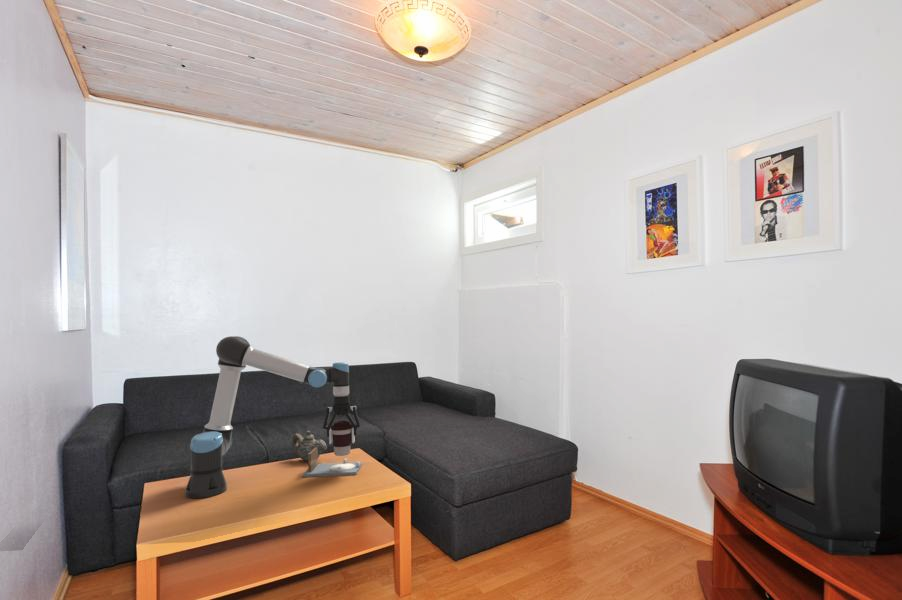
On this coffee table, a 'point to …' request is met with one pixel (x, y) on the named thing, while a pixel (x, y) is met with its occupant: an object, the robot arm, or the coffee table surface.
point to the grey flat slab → (334, 469)
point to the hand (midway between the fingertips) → (342, 443)
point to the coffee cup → (341, 437)
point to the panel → (312, 459)
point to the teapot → (307, 445)
